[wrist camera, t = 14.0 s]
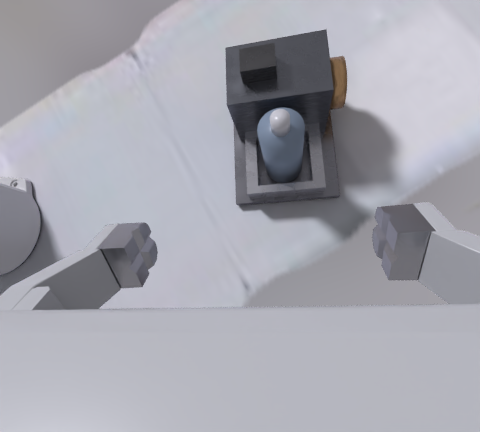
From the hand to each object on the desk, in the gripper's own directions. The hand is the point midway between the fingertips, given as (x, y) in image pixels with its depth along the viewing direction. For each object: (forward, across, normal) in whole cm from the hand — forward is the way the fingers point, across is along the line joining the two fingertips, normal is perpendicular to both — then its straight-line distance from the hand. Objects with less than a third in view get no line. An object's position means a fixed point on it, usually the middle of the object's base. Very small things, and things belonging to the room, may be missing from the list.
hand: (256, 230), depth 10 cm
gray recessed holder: (+32, -2, +7) cm, 33 cm away
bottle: (+29, -1, +10) cm, 30 cm away
